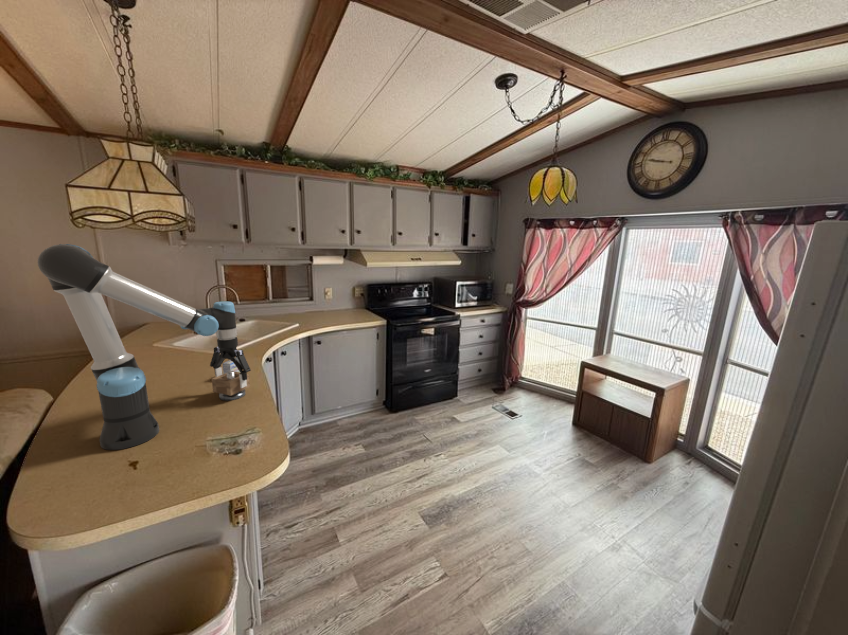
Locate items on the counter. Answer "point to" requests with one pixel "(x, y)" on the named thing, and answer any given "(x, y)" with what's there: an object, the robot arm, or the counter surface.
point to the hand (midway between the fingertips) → (231, 384)
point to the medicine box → (229, 367)
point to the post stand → (236, 396)
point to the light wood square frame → (228, 384)
